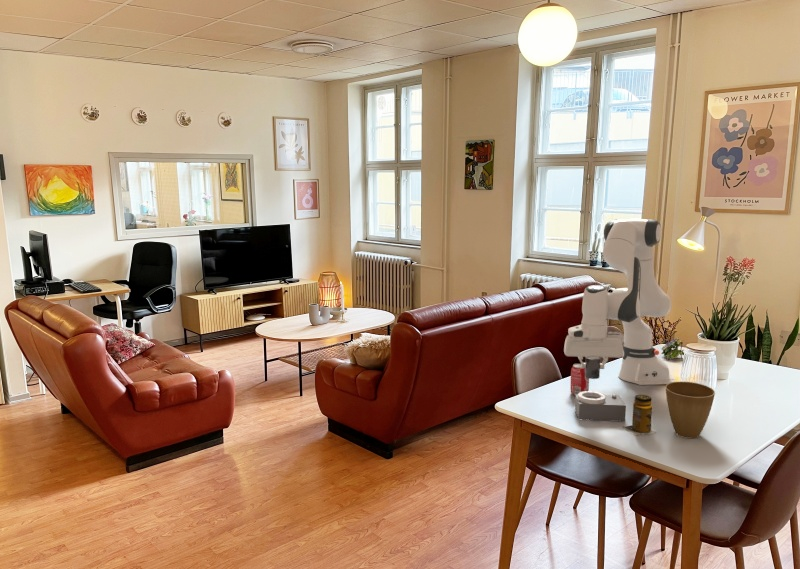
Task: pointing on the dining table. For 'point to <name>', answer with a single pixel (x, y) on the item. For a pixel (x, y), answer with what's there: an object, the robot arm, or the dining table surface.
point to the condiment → (641, 416)
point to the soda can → (578, 380)
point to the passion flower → (668, 349)
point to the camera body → (599, 406)
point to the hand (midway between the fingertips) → (592, 368)
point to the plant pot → (689, 407)
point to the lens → (592, 367)
